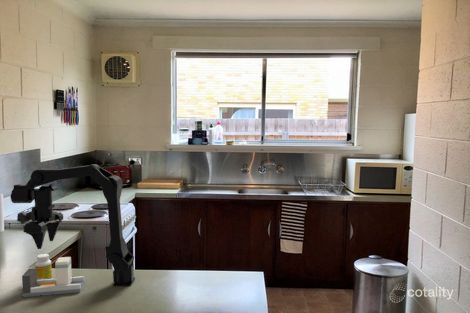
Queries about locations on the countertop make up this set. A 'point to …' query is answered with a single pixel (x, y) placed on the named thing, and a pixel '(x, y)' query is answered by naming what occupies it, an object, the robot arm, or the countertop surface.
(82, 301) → the countertop surface
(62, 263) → the cream banded box
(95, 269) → the countertop surface
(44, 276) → the supplement bottle
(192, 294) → the countertop surface
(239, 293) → the countertop surface
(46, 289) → the track
